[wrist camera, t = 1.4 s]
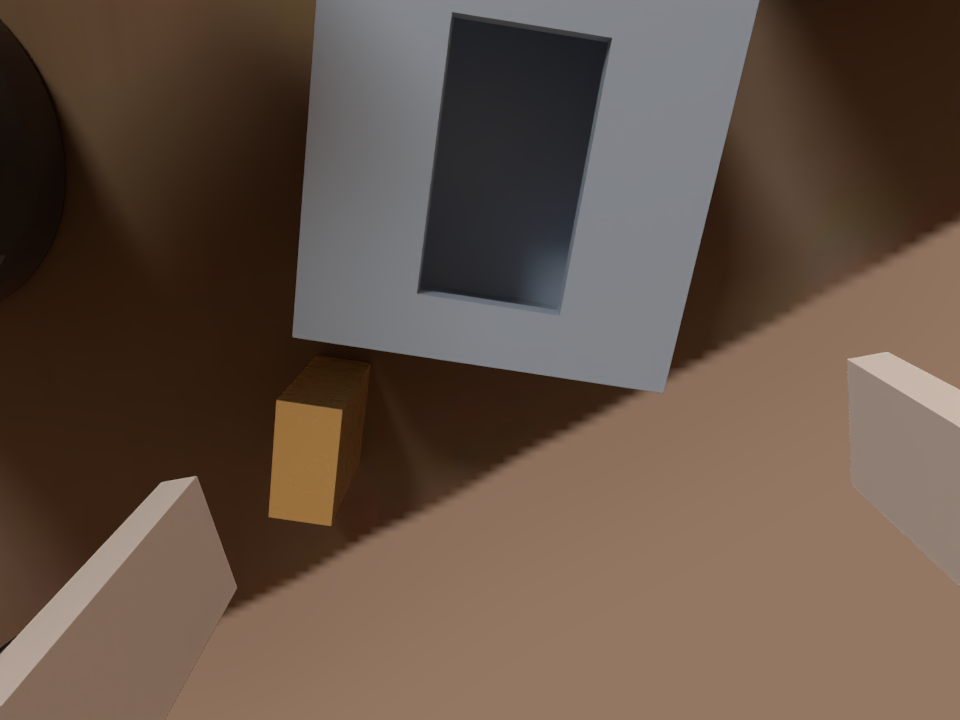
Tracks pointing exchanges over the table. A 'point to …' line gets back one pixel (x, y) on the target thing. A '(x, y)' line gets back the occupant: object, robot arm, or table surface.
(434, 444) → the table surface
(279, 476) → the tan wooden block
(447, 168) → the coin box
